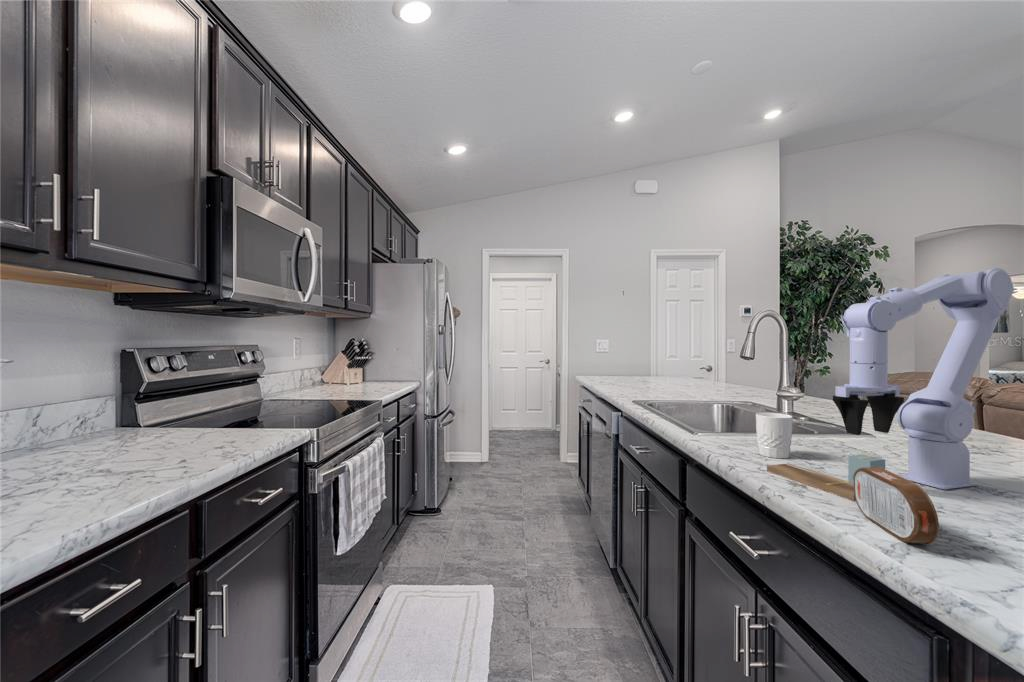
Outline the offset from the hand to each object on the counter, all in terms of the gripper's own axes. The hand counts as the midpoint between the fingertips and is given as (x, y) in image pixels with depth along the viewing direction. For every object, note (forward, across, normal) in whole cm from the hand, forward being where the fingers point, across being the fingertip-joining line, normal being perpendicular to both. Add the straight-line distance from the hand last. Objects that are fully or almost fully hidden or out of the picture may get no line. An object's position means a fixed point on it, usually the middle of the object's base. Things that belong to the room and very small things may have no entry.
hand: (867, 433), depth 83 cm
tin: (+11, +18, +15) cm, 26 cm away
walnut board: (+10, +8, -4) cm, 14 cm away
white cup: (+11, -2, -23) cm, 25 cm away
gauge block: (+10, 0, 0) cm, 10 cm away
